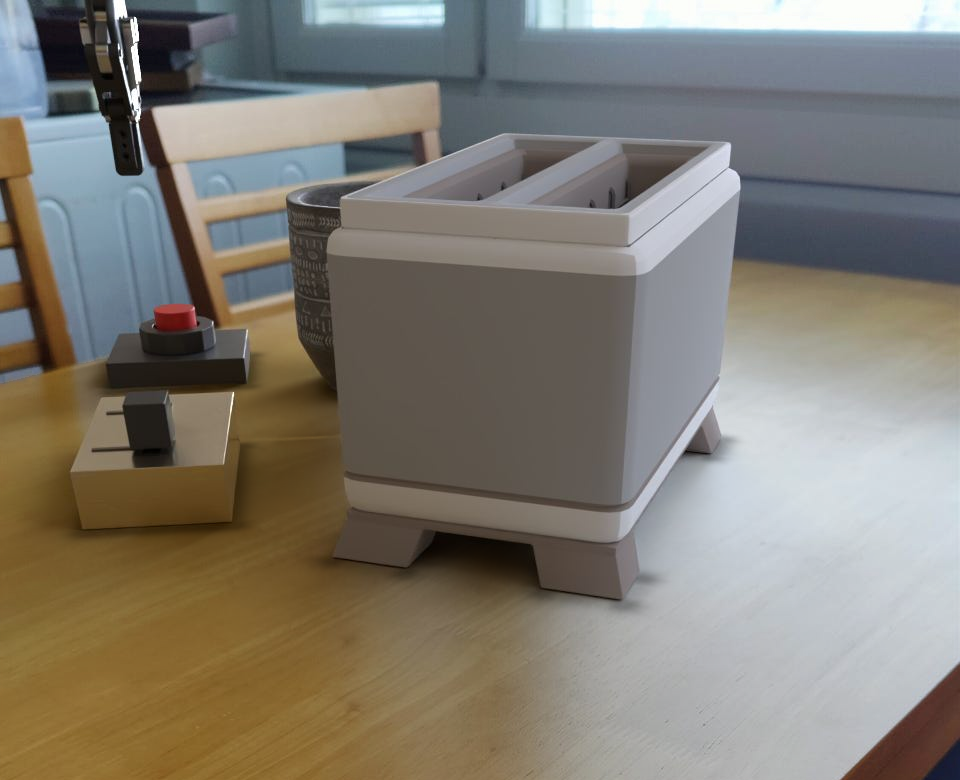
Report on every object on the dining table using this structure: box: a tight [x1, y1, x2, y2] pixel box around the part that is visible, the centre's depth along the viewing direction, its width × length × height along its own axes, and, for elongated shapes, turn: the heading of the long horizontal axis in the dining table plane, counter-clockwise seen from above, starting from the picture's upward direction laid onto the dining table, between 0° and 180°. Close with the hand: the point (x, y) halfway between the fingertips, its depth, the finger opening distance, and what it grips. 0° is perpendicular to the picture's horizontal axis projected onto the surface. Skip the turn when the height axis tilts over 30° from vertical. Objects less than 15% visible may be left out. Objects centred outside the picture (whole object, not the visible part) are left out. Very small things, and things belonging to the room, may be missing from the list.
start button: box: [153, 303, 197, 331], centre depth 109 cm, size 4×4×2 cm
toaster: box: [326, 132, 741, 600], centre depth 82 cm, size 19×34×20 cm, turn 160°
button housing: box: [105, 315, 251, 390], centre depth 110 cm, size 12×10×4 cm
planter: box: [285, 179, 384, 392], centre depth 104 cm, size 14×14×15 cm
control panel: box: [69, 391, 241, 530], centre depth 87 cm, size 10×16×4 cm, turn 7°
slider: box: [122, 389, 175, 450], centre depth 82 cm, size 3×3×3 cm
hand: (131, 174), depth 100 cm, fingers closed
